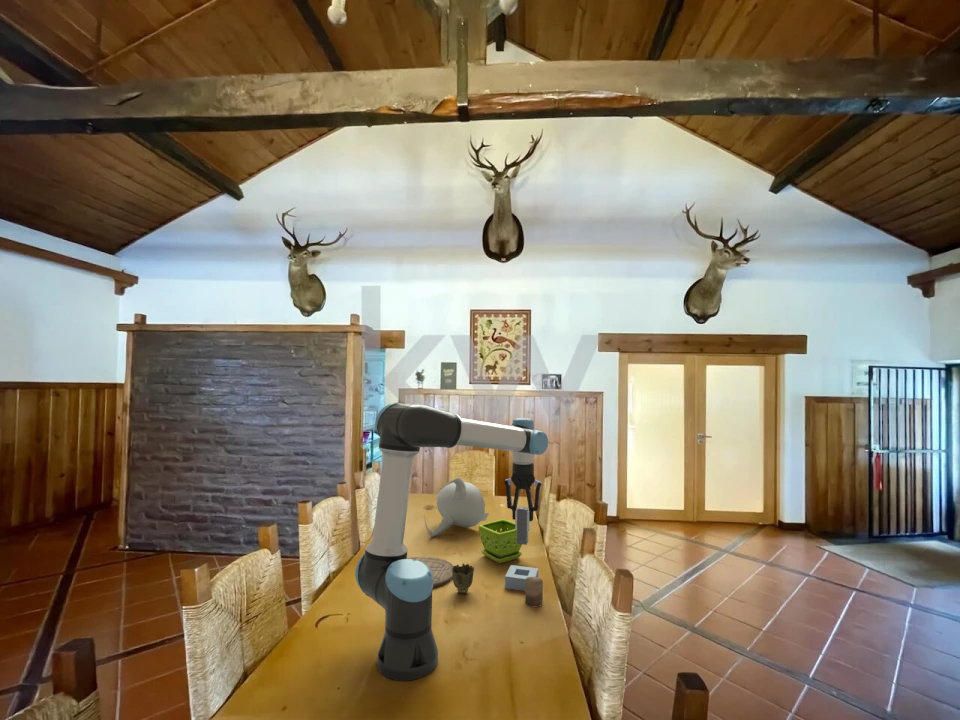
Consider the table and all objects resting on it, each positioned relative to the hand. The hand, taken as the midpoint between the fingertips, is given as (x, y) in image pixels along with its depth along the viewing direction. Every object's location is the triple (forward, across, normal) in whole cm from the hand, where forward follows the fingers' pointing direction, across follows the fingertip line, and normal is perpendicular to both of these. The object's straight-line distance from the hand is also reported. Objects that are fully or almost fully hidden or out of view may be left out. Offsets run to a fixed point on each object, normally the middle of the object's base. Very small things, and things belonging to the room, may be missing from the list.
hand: (522, 529), depth 162 cm
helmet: (+19, +38, -46) cm, 63 cm away
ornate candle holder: (+19, +18, +12) cm, 29 cm away
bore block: (+19, 0, 0) cm, 19 cm away
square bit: (+5, 0, 0) cm, 5 cm away
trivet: (+19, +37, +3) cm, 42 cm away
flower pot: (+19, +12, -21) cm, 31 cm away
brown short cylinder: (+19, -6, +12) cm, 23 cm away
